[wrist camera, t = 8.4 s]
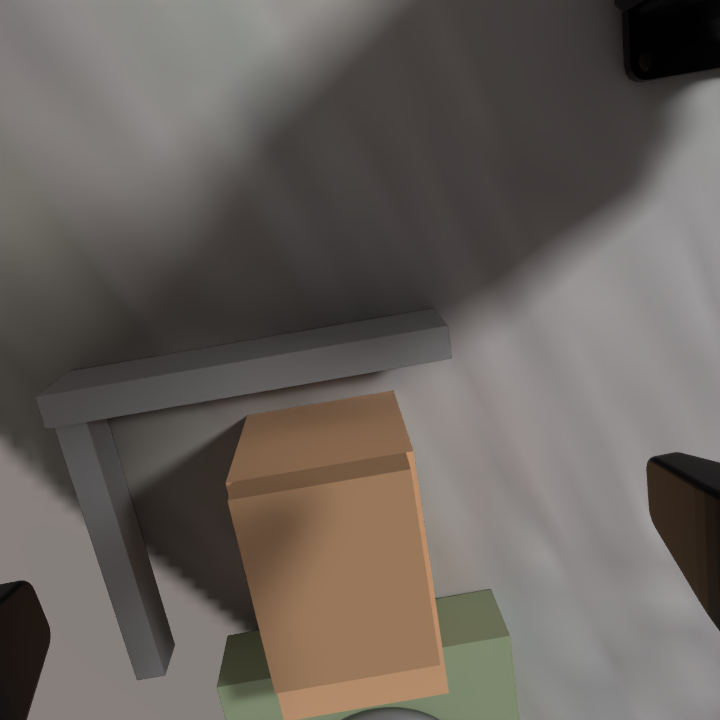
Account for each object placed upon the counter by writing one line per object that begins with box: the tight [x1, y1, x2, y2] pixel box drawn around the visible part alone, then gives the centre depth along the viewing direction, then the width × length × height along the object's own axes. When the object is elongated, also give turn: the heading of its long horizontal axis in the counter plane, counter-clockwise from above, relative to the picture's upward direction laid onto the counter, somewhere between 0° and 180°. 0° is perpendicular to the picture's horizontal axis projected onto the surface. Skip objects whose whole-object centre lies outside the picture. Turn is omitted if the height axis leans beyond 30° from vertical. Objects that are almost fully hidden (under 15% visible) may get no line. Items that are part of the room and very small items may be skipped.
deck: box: [35, 308, 520, 720], centre depth 22 cm, size 13×21×3 cm, turn 9°
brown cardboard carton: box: [226, 391, 449, 720], centre depth 20 cm, size 5×8×6 cm, turn 9°
